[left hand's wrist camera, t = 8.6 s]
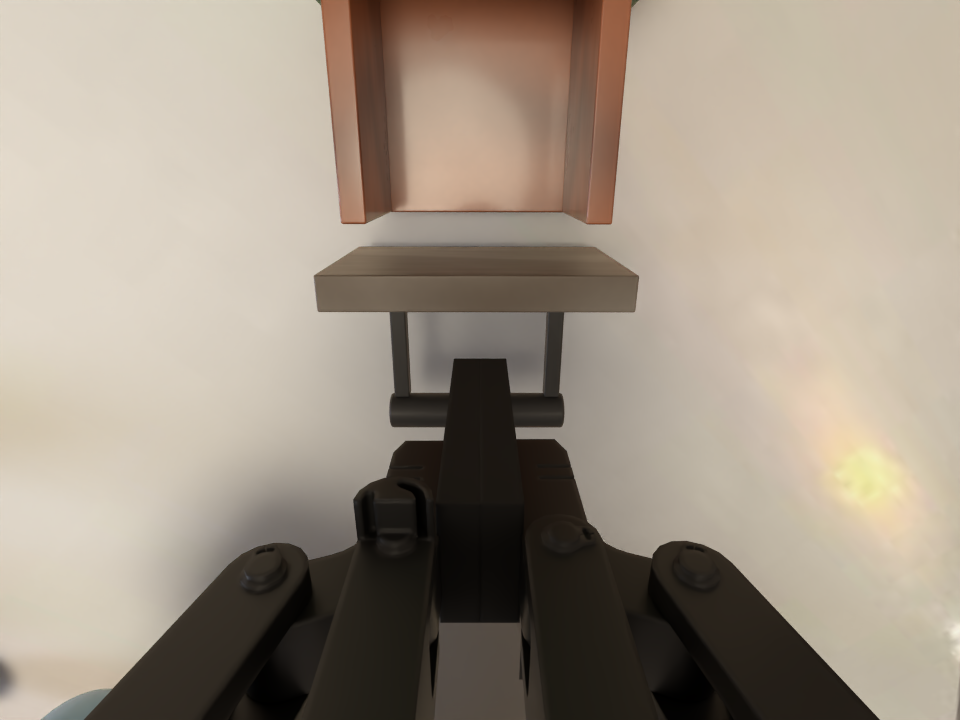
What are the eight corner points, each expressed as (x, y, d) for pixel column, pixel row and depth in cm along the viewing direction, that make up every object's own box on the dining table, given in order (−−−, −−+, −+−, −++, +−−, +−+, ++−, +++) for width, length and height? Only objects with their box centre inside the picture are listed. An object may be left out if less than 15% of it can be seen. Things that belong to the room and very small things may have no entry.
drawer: (583, 394, 24) (618, 467, 18) (370, 394, 24) (334, 467, 18) (643, -356, 16) (747, -685, 10) (309, -357, 16) (203, -688, 10)
